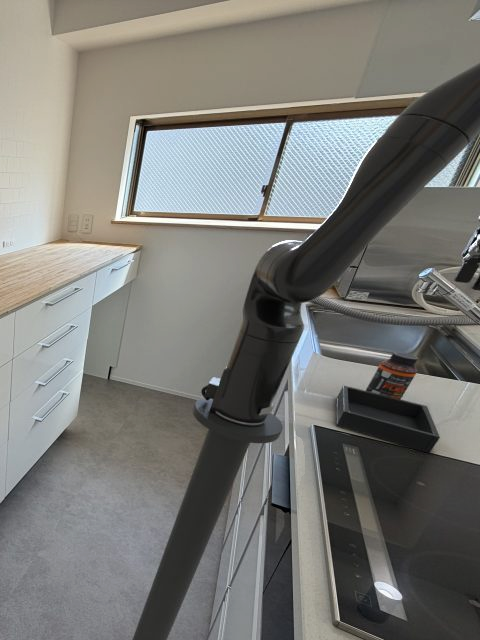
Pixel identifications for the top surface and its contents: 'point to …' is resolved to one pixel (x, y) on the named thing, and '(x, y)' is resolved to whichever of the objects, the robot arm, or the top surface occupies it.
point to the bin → (386, 418)
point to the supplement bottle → (394, 375)
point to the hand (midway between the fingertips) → (469, 286)
